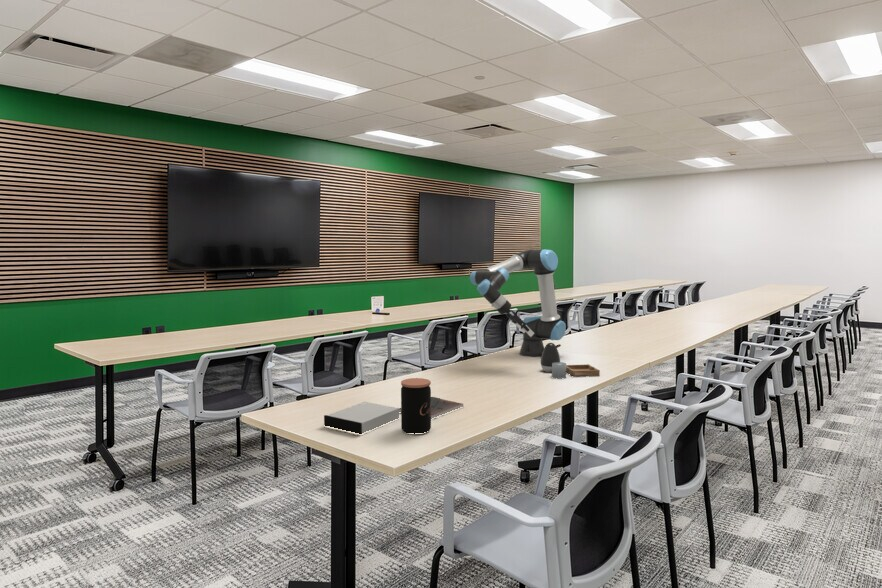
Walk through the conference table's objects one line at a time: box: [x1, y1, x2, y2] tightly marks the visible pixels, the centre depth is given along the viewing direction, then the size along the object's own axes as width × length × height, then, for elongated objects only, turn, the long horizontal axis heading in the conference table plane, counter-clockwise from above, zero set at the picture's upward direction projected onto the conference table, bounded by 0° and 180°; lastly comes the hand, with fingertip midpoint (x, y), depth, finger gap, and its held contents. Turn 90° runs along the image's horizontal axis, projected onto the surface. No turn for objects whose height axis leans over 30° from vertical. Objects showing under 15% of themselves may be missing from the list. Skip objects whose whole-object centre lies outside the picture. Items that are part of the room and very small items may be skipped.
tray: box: [566, 363, 601, 378], centre depth 288 cm, size 14×14×3 cm
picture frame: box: [398, 396, 464, 419], centre depth 225 cm, size 16×2×22 cm
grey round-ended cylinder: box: [551, 361, 567, 380], centre depth 280 cm, size 7×7×7 cm
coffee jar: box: [400, 377, 432, 434], centre depth 199 cm, size 11×11×18 cm
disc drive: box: [323, 401, 400, 434], centre depth 208 cm, size 18×22×5 cm
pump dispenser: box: [540, 342, 562, 373], centre depth 292 cm, size 10×10×15 cm
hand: (528, 333), depth 291 cm, fingers open, 13 cm apart
